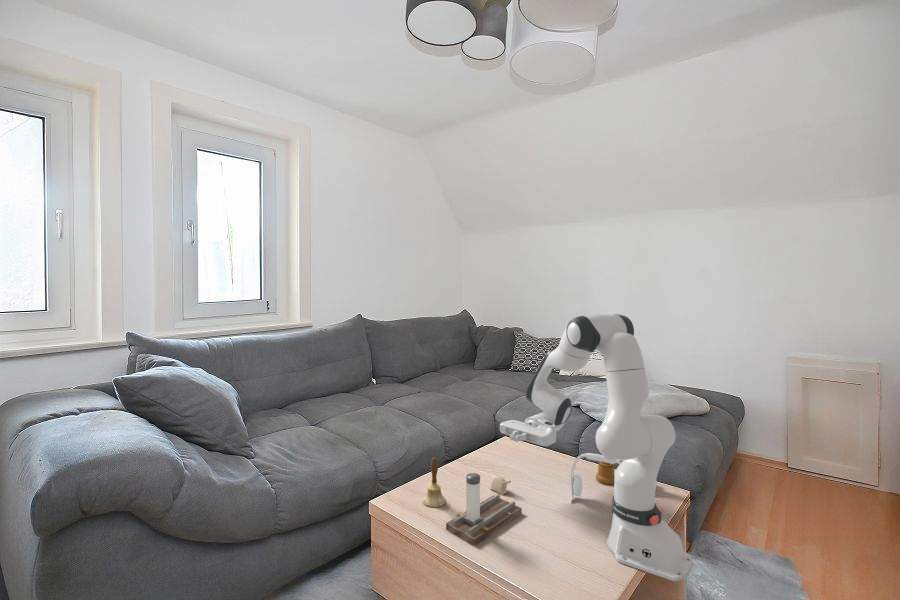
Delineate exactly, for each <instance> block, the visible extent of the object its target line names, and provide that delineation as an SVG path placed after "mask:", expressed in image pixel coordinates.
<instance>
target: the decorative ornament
mask: <svg viewBox="0 0 900 600" xmlns="http://www.w3.org/2000/svg"><path fill="white" fill-rule="evenodd" d="M510 483H512V480H506V479H505V478H504V477H503V476H499V475H496V476H494V477H493V479H492V480H491V484H490V487H489V488H488V489H489V490H492V491H495V492H497V493H498V494H499V495H500V496H502V497H503V496H504V495H505V494H506V493H507V485H508V484H510Z"/></svg>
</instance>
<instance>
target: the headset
mask: <svg viewBox="0 0 900 600" xmlns="http://www.w3.org/2000/svg"><path fill="white" fill-rule="evenodd" d="M582 458H586V459H587V460H590V461H595V462H596V461H597V462H606V463H610V464H613V465H614V464H618V466H619V465H620V464H621V463H622V462H623V461H622V460H609V459H607V458H605V457H604V456H603V455H602V454H601V453H600V454H599V453H591V452H587V453H585V452H584V453H582V454H580V455H578V456H577V457H576V459H575V460H574V461H573V464H572V467H571V470H570V487H571V489H570V490H571V498H570V504H572V502H573V499H574V496H575V497H581V495H582V490H583V479H582V476H581V475H580V474H578V473H577V474H574V473H575V472H574V471H575V469H576V466H577V463H578V461H580V460H581V459H582Z"/></svg>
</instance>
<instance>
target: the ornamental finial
mask: <svg viewBox="0 0 900 600" xmlns="http://www.w3.org/2000/svg"><path fill="white" fill-rule="evenodd" d="M597 467H598V469H597V473H596V475H595V478H596V481H597V482H598V483H600V484H602V485H605V486H606V485H607V486H611V485H614V477H615V465H614V464H610V463H606V462H601V461H599V462H598V466H597Z"/></svg>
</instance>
